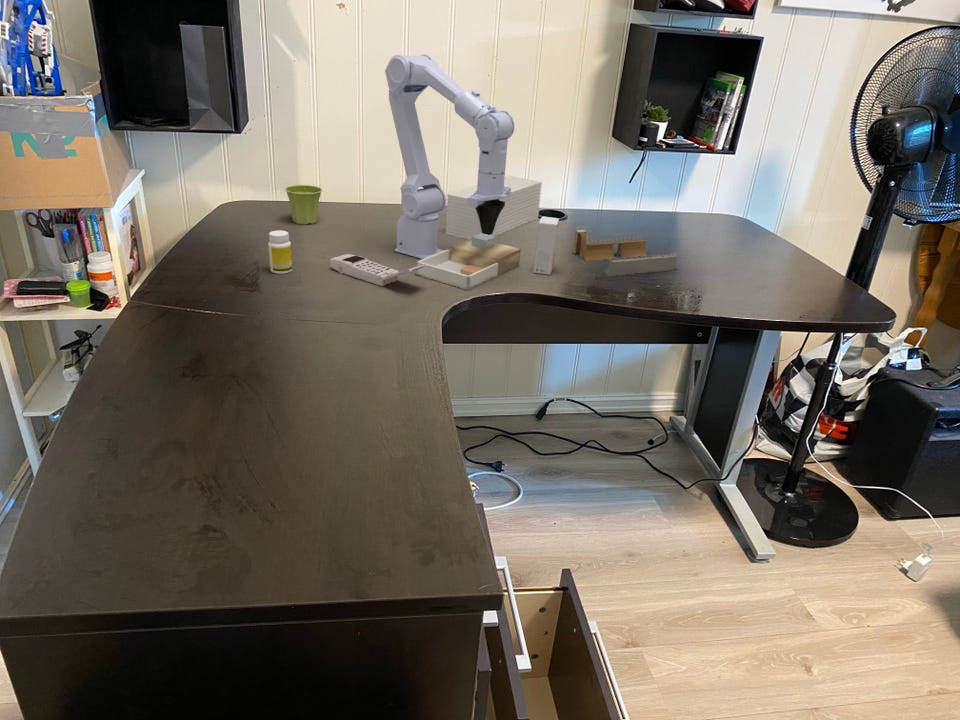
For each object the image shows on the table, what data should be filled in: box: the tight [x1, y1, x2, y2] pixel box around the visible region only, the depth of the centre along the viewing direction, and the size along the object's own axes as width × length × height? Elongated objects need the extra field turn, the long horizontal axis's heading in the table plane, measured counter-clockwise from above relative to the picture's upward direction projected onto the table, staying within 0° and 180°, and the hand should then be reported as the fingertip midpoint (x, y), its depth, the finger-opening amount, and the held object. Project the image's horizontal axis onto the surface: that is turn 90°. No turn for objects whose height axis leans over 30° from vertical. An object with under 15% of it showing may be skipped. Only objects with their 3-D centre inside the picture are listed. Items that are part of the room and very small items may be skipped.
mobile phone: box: [329, 253, 426, 287], centre depth 152 cm, size 6×6×25 cm
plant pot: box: [284, 184, 323, 225], centre depth 185 cm, size 9×9×9 cm
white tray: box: [415, 249, 498, 291], centre depth 158 cm, size 14×12×3 cm
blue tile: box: [471, 234, 496, 249], centre depth 166 cm, size 4×4×2 cm
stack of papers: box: [445, 175, 543, 240], centre depth 194 cm, size 32×11×11 cm, turn 148°
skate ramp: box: [572, 225, 678, 277], centre depth 178 cm, size 29×35×8 cm
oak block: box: [449, 238, 522, 277], centre depth 166 cm, size 13×10×4 cm
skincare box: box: [532, 215, 560, 276], centre depth 163 cm, size 6×4×12 cm
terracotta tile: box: [460, 265, 484, 276], centre depth 156 cm, size 4×4×2 cm
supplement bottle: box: [267, 229, 293, 275], centre depth 152 cm, size 5×5×8 cm
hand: (487, 233), depth 156 cm, fingers closed
